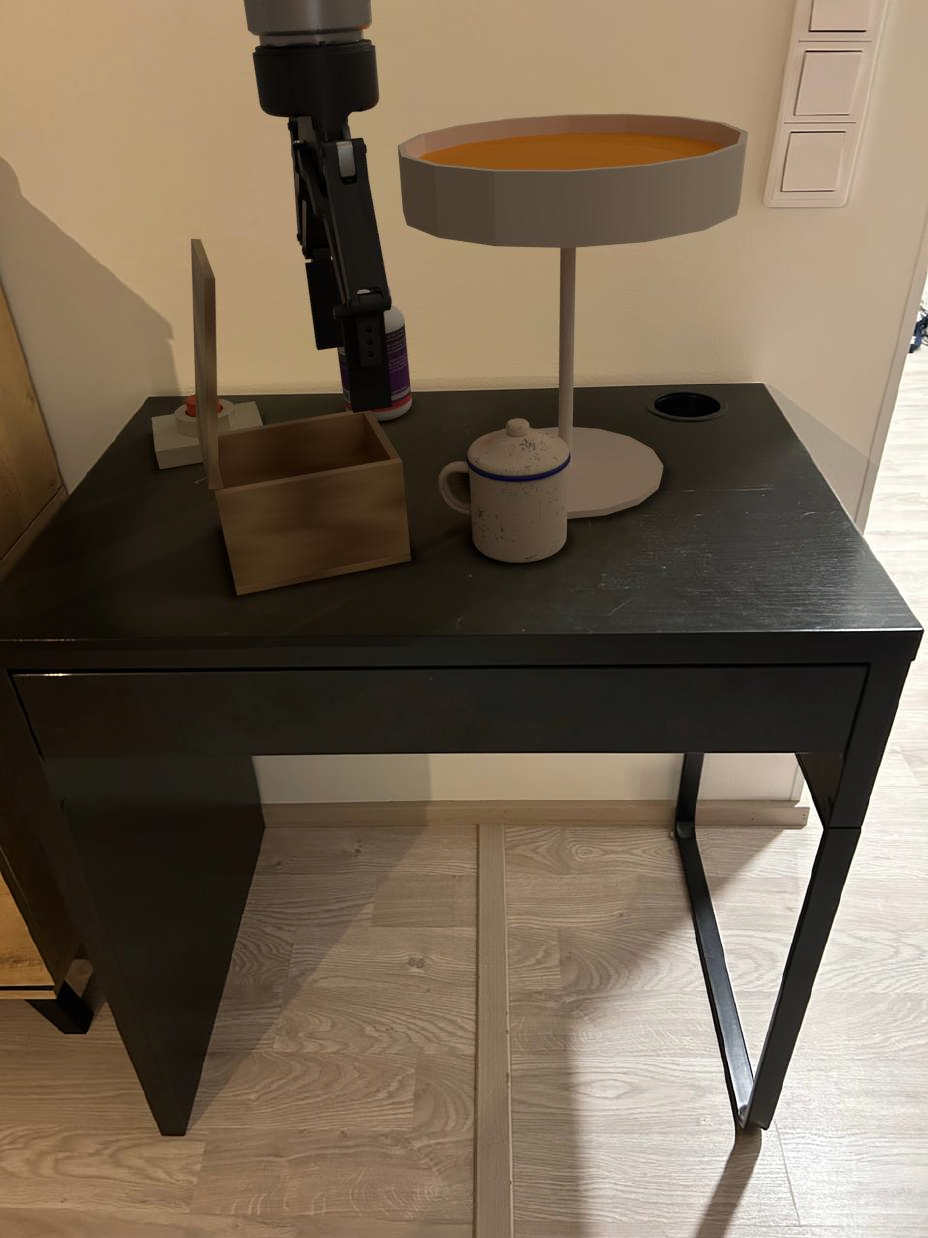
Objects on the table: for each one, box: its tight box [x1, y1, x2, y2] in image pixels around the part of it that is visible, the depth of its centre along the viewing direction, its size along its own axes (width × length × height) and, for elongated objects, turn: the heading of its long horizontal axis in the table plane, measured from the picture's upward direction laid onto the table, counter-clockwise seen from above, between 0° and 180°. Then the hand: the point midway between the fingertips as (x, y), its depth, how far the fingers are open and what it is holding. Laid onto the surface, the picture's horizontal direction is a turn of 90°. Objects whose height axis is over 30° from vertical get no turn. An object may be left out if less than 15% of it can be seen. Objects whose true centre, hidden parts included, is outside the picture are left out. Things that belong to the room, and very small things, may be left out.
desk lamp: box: [397, 113, 749, 520], centre depth 90 cm, size 30×30×31 cm
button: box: [184, 393, 221, 417], centre depth 107 cm, size 4×4×2 cm
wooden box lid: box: [190, 238, 219, 490], centre depth 77 cm, size 16×13×1 cm
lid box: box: [213, 411, 412, 596], centre depth 86 cm, size 16×13×10 cm
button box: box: [151, 398, 264, 470], centre depth 108 cm, size 12×10×4 cm
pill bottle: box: [336, 285, 413, 422], centre depth 110 cm, size 8×8×14 cm
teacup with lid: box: [437, 417, 571, 564], centre depth 85 cm, size 12×9×12 cm
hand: (351, 375), depth 70 cm, fingers open, 13 cm apart
